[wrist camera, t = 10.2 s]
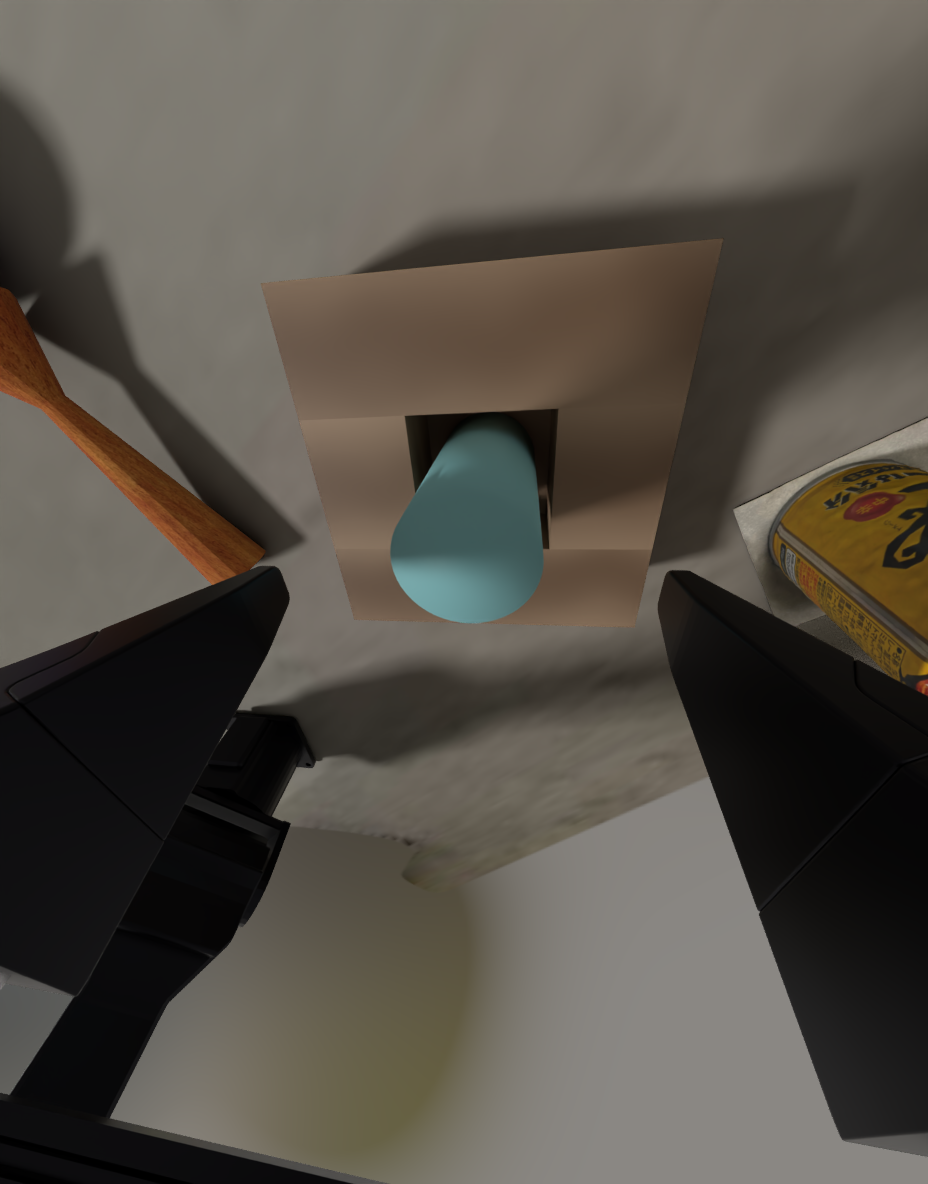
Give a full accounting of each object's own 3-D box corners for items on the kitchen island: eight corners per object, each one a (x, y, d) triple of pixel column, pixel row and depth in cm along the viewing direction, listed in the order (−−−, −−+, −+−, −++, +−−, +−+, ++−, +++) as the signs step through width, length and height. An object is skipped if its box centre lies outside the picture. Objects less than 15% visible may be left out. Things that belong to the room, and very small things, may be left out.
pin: (532, 501, 19) (539, 625, 11) (448, 503, 19) (402, 621, 12) (536, 409, 16) (548, 487, 9) (440, 413, 17) (377, 490, 9)
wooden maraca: (180, 619, 22) (-401, 188, 12) (246, 553, 26) (-146, 192, 16) (235, 592, 19) (-487, -18, 9) (301, 522, 23) (-144, 51, 13)
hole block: (615, 573, 21) (634, 627, 18) (381, 571, 23) (354, 619, 19) (671, 258, 14) (723, 238, 10) (322, 291, 16) (260, 283, 12)
